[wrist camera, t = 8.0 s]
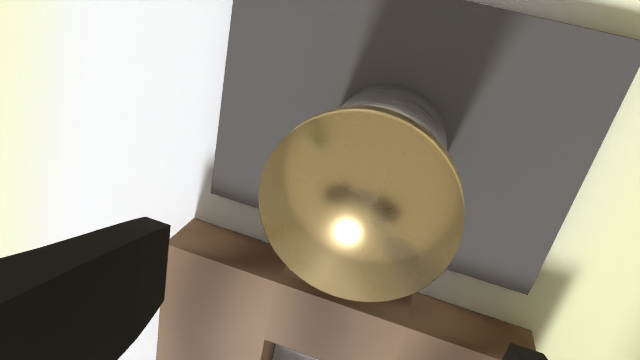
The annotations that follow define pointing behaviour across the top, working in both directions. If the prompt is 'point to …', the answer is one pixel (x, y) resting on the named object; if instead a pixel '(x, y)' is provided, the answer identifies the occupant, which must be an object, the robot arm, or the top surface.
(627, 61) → the mat
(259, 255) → the housing
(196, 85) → the top surface
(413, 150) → the gold rounded piece
